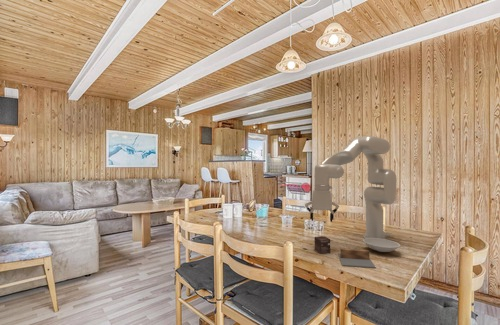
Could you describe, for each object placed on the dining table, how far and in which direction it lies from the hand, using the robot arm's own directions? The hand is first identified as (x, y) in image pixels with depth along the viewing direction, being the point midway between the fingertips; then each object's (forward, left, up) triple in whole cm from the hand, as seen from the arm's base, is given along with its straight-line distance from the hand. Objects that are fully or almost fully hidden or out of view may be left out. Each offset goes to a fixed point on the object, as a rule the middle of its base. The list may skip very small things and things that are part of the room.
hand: (321, 220), depth 132 cm
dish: (-30, -5, -17) cm, 35 cm away
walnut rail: (-15, +8, -16) cm, 23 cm away
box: (0, 0, -17) cm, 17 cm away
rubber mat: (-15, +10, -16) cm, 24 cm away
